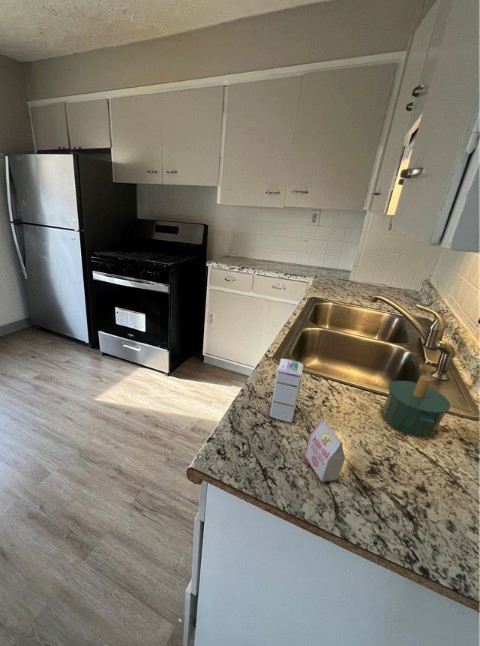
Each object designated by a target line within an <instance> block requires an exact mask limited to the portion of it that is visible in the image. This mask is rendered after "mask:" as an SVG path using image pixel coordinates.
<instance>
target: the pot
mask: <svg viewBox="0 0 480 646" xmlns="http://www.w3.org/2000/svg"><path fill="white" fill-rule="evenodd" d="M381 414H382V418H384V420H385V422H386V423H388V424H389V425H390V426H391V427H393V428H394V429H396V430H397V431H398V432H402V433H403V434H406V435H409V436H412V437H416V438H417V437H418V438H429V437H432V436H433V435H435V433H436V432H437V430H438V428H439V426H440V423H441V422H442V419H443V418H444V415H445V413H442V414H431V413H425V412H421V411H418V410H415V409H412V408H410V407H408V406H406V405H404V404H402V403H400V402H399V401H397V400H396V399H395V398H394V397H393V396H392V395H391V394H390V393H389V392H388V395H387V397H386V400H385V403H384V406H383V408H382V413H381Z"/></svg>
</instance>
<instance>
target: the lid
mask: <svg viewBox="0 0 480 646" xmlns="http://www.w3.org/2000/svg"><path fill="white" fill-rule="evenodd" d="M432 381H433V380H432V378H431V377H429V376H428V375H427V376H426V375H420V376H419V377H418V380H417V382H414V381H408V380H396V381H392V382H391V383H390V384H388V388H387V389H388V390H387V391H388V394H389V393H390V394H391V395H392V396H393V397H394V398H395V399H396V400H397V401H399V402H400V403H402V404H404V405H406V406H408V407H410V408H412V409H415V410H418V411H421V412H425V413H431V414H442V413H444V414H446V413H447V412H449V411H450V409H451V403H450V401H449V400H448V399H447V397H445V396H444V395H443V394H442V393H441V392H439V391H437V390H435V389H433V388H431V387H430V385H431V383H432Z"/></svg>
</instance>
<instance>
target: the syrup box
mask: <svg viewBox="0 0 480 646" xmlns="http://www.w3.org/2000/svg"><path fill="white" fill-rule="evenodd" d="M304 365H305V363H303V361H302V362H301V361H298V360H295V359H288V358H280V359H279V362H278V365H277V369H276V375H275V380H274V385H273V392H272V398H271V403H270V404H271V405H270V409H269V417H270V418H273V419H276V420H279V421H283V422H288V423H293V420H294V415H295V410H296V406H297V402H298V397H299V394H300V387H301V382H302V376H303V370H304Z"/></svg>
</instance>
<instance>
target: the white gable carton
mask: <svg viewBox="0 0 480 646" xmlns="http://www.w3.org/2000/svg"><path fill="white" fill-rule="evenodd" d="M303 456H304V458H305V460H306V461H307V463H308V464H309V466H310V467H311V469H312V470H313V472H314V474H316V476H317V479H319V481H320V482H321V483H324V482H331V481H336V480H339V479H340V478H339V477H340V475H341V472H342V468H343V466H344V463H345V460H346V456H345V452H344V448H343V442H342V441H341V439H340V438H339V437H338V436H337V435H336V433H335V432H334V431H333V429H331V428H330V426H329V425H328V424H327V422H326V421H324V419H319V422H318V423H317V425H316V426H315V428H314V429H313V430H312V431H311V432H310V434H309V436H308V439H307V444H306V448H305V451H304V455H303Z"/></svg>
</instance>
